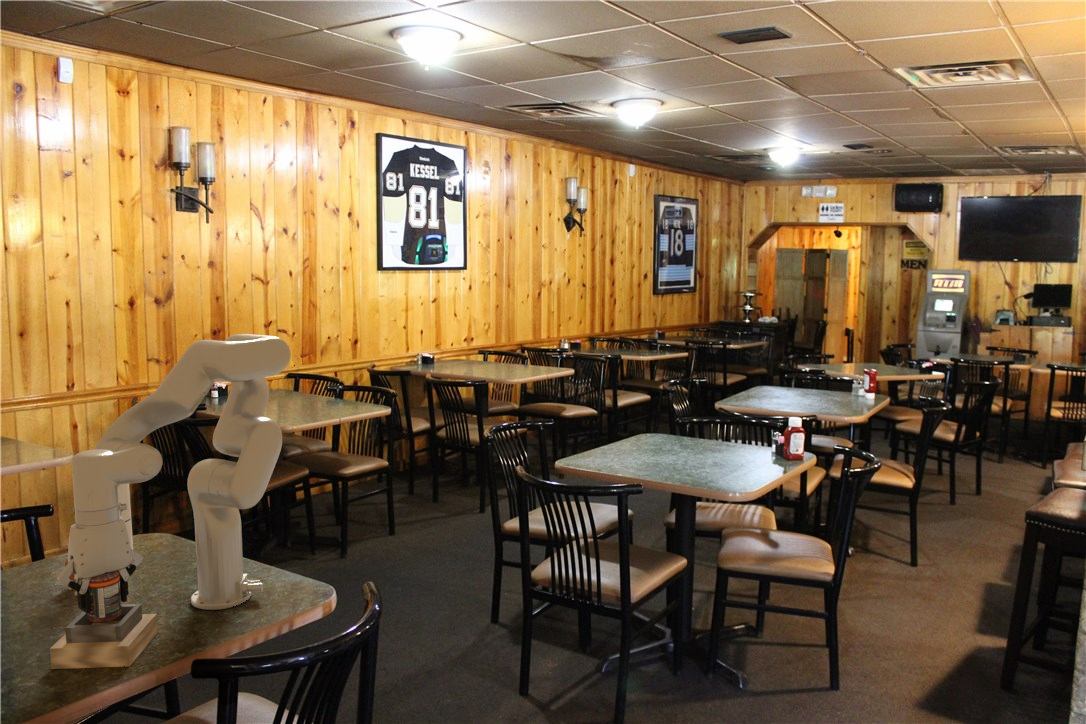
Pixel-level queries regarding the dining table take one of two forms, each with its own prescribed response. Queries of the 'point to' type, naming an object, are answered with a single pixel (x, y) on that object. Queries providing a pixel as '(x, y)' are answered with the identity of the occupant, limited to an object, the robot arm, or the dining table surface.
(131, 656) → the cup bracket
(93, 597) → the supplement bottle
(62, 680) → the dining table surface
